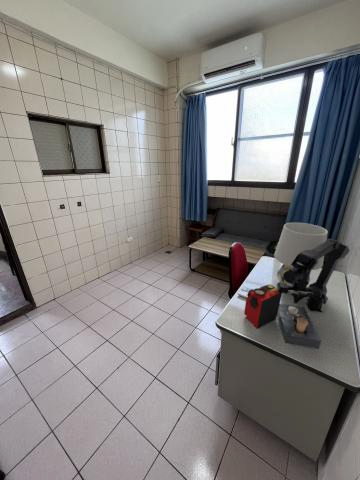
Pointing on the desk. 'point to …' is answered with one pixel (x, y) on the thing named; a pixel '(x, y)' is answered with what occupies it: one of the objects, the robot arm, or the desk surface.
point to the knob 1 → (292, 310)
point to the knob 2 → (301, 325)
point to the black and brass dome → (296, 317)
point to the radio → (262, 305)
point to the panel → (289, 326)
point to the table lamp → (298, 245)
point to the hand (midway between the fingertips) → (294, 303)
